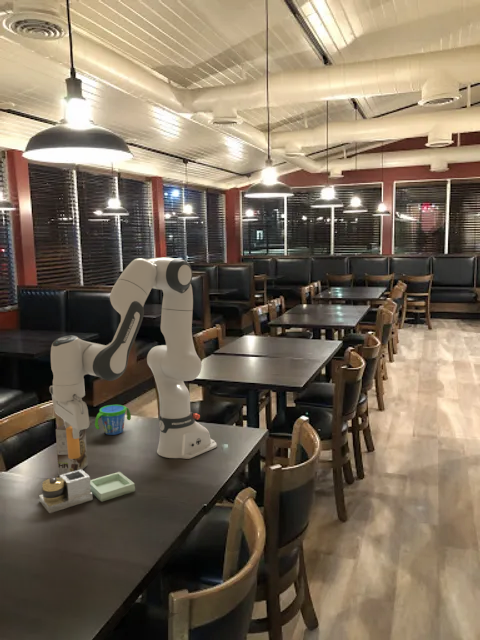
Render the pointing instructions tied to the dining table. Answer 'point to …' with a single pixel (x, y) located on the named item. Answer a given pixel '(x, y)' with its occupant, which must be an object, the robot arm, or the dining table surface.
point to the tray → (111, 486)
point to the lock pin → (72, 444)
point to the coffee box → (62, 452)
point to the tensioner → (66, 491)
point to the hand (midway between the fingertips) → (72, 435)
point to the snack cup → (112, 418)
